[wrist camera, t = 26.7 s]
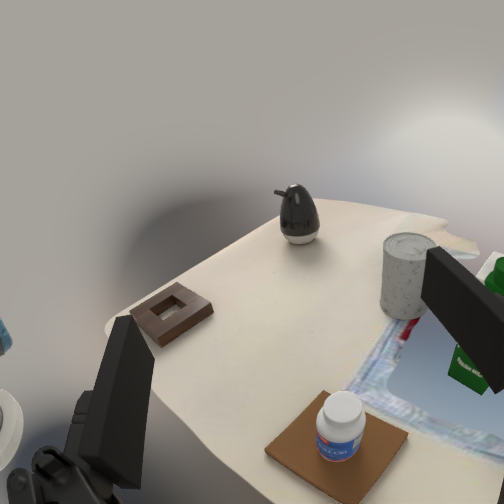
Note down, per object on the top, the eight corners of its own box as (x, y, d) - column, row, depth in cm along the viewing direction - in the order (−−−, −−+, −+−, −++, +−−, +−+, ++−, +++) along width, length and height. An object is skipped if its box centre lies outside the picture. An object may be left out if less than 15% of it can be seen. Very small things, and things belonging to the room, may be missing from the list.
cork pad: (265, 452, 34) (263, 449, 34) (323, 393, 41) (323, 389, 40) (353, 509, 25) (353, 507, 24) (407, 436, 31) (408, 432, 31)
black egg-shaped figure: (281, 233, 88) (273, 181, 80) (319, 229, 86) (313, 176, 79) (281, 251, 79) (272, 193, 72) (322, 247, 77) (317, 188, 70)
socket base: (133, 319, 64) (128, 310, 63) (179, 290, 71) (176, 281, 70) (161, 347, 55) (156, 338, 54) (213, 312, 62) (210, 302, 61)
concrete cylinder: (382, 321, 51) (387, 261, 45) (377, 289, 59) (379, 233, 53) (432, 318, 48) (443, 258, 42) (422, 286, 56) (428, 231, 50)
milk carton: (439, 376, 38) (472, 261, 28) (465, 341, 41) (494, 232, 32) (483, 403, 31) (537, 289, 21) (505, 364, 34) (548, 254, 25)
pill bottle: (308, 453, 32) (304, 417, 27) (328, 421, 36) (329, 378, 31) (348, 469, 29) (355, 435, 24) (367, 434, 32) (376, 393, 28)
